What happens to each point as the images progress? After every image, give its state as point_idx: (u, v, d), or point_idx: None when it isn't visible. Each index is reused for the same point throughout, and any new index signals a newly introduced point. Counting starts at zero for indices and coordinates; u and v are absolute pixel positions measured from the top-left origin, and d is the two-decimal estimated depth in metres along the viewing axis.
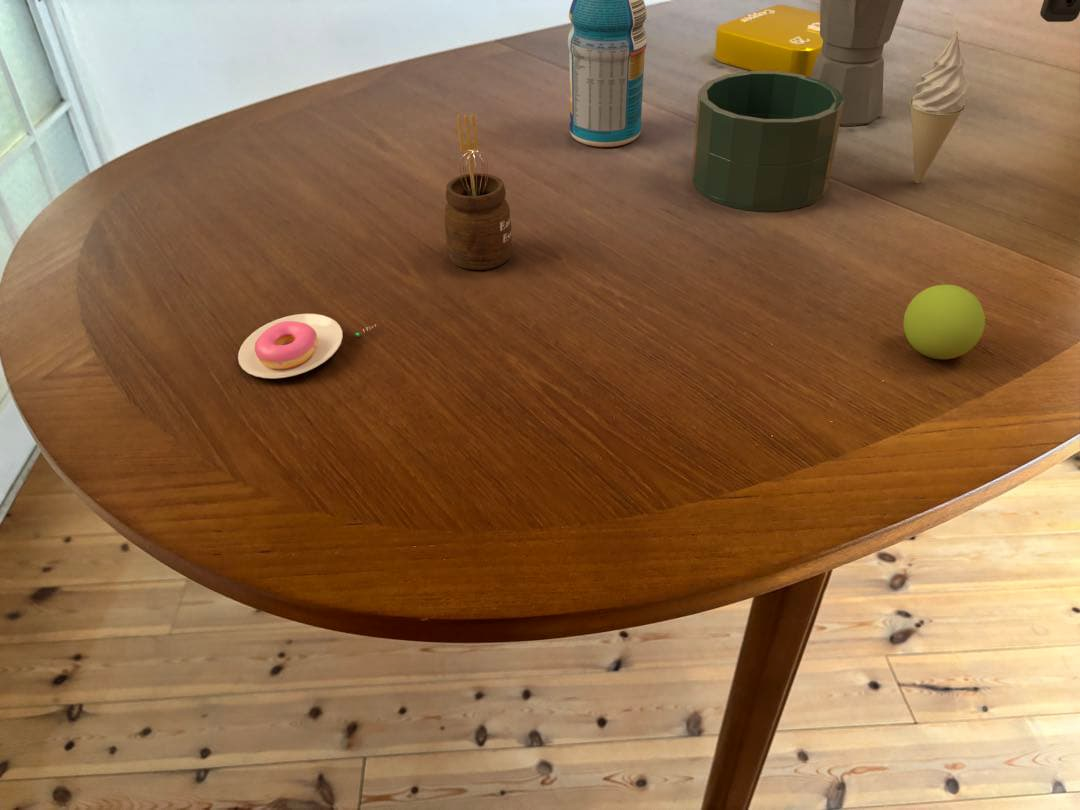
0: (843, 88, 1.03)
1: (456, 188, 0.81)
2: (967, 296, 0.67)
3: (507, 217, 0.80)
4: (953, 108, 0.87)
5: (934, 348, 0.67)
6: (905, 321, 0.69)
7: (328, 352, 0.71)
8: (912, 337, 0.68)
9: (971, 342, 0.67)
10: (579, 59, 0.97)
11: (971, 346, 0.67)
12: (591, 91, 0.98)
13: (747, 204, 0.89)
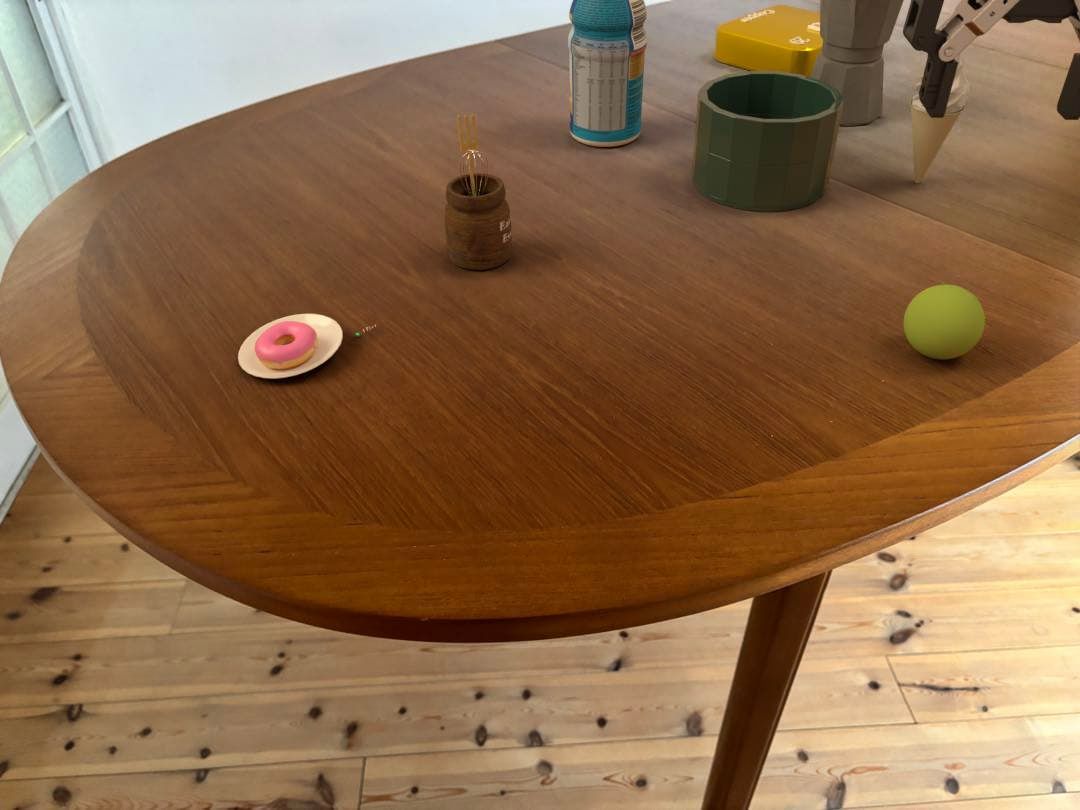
0: (843, 88, 1.03)
1: (456, 188, 0.81)
2: (967, 296, 0.67)
3: (507, 217, 0.80)
4: (953, 108, 0.87)
5: (934, 348, 0.67)
6: (905, 321, 0.69)
7: (328, 352, 0.71)
8: (912, 337, 0.68)
9: (971, 342, 0.67)
10: (579, 59, 0.97)
11: (971, 346, 0.67)
12: (591, 91, 0.98)
13: (747, 204, 0.89)
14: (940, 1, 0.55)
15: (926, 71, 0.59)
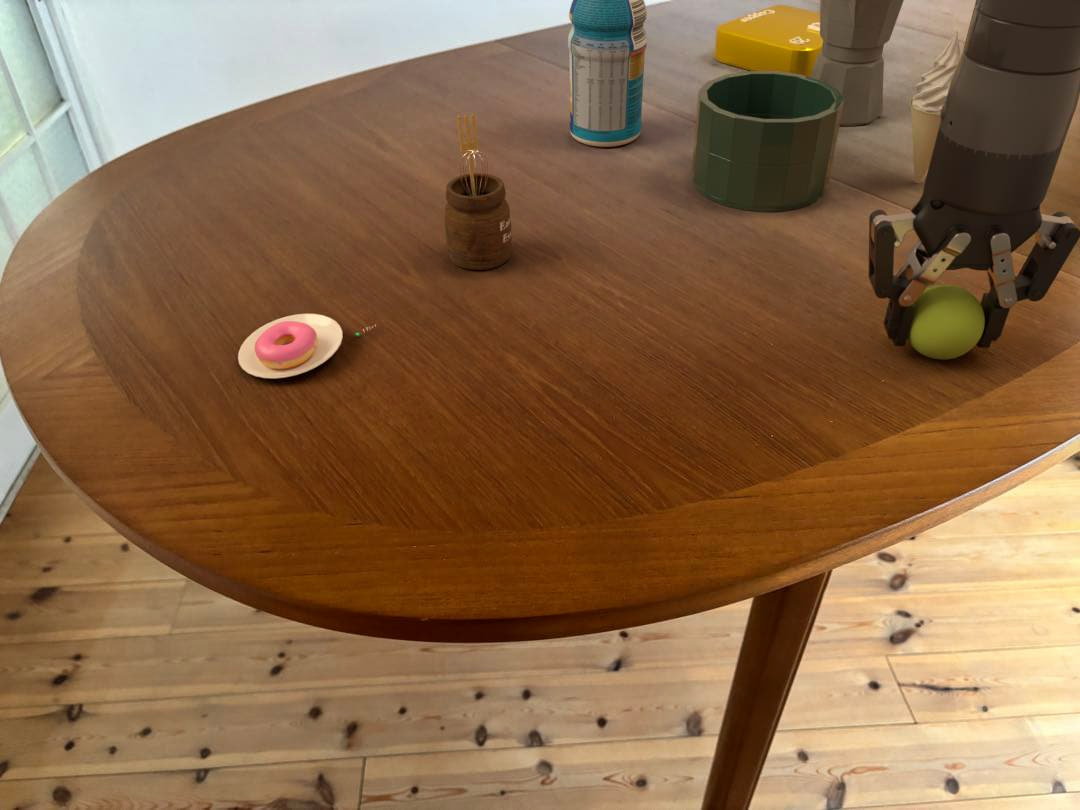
0: (843, 88, 1.03)
1: (456, 188, 0.81)
2: (967, 296, 0.67)
3: (507, 217, 0.80)
4: None
5: (934, 349, 0.67)
6: None
7: (328, 352, 0.71)
8: (912, 337, 0.68)
9: (971, 342, 0.67)
10: (579, 59, 0.97)
11: (971, 346, 0.67)
12: (591, 91, 0.98)
13: (747, 204, 0.89)
14: (890, 262, 0.65)
15: (889, 308, 0.69)
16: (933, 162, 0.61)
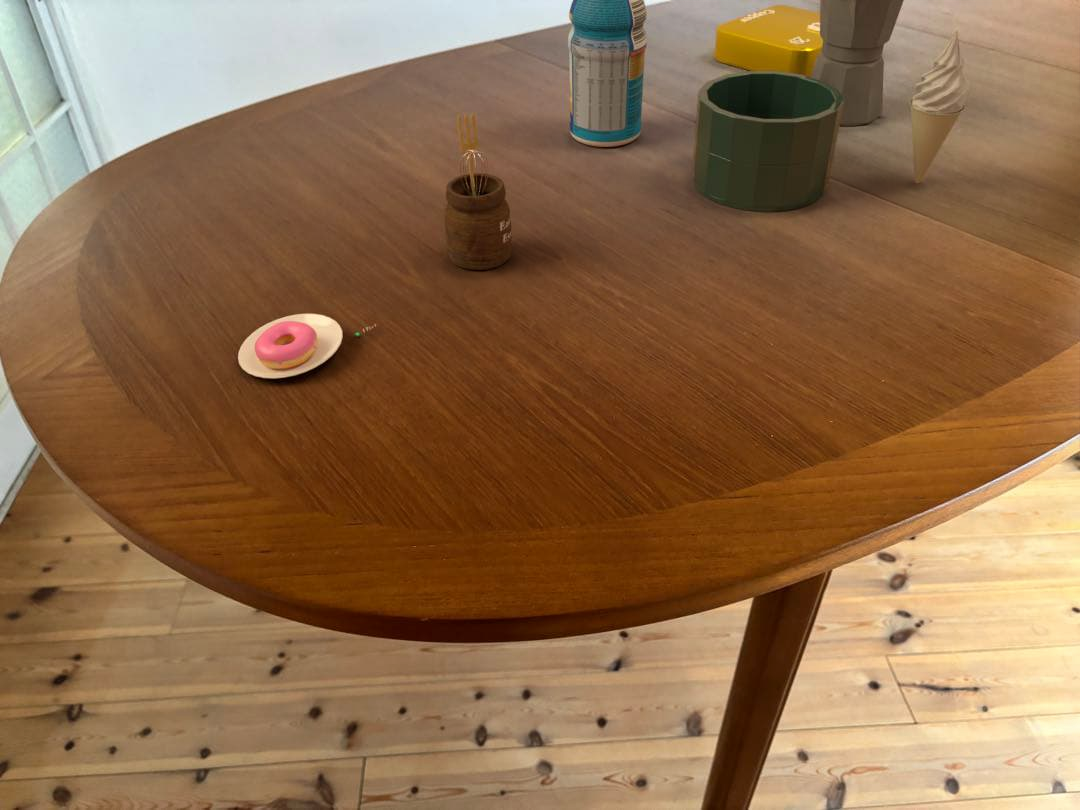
0: (843, 88, 1.03)
1: (456, 188, 0.81)
2: None
3: (507, 217, 0.80)
4: (953, 108, 0.87)
5: None
6: None
7: (328, 352, 0.71)
8: None
9: None
10: (579, 59, 0.97)
11: None
12: (591, 91, 0.98)
13: (747, 204, 0.89)
14: None
15: None
16: None
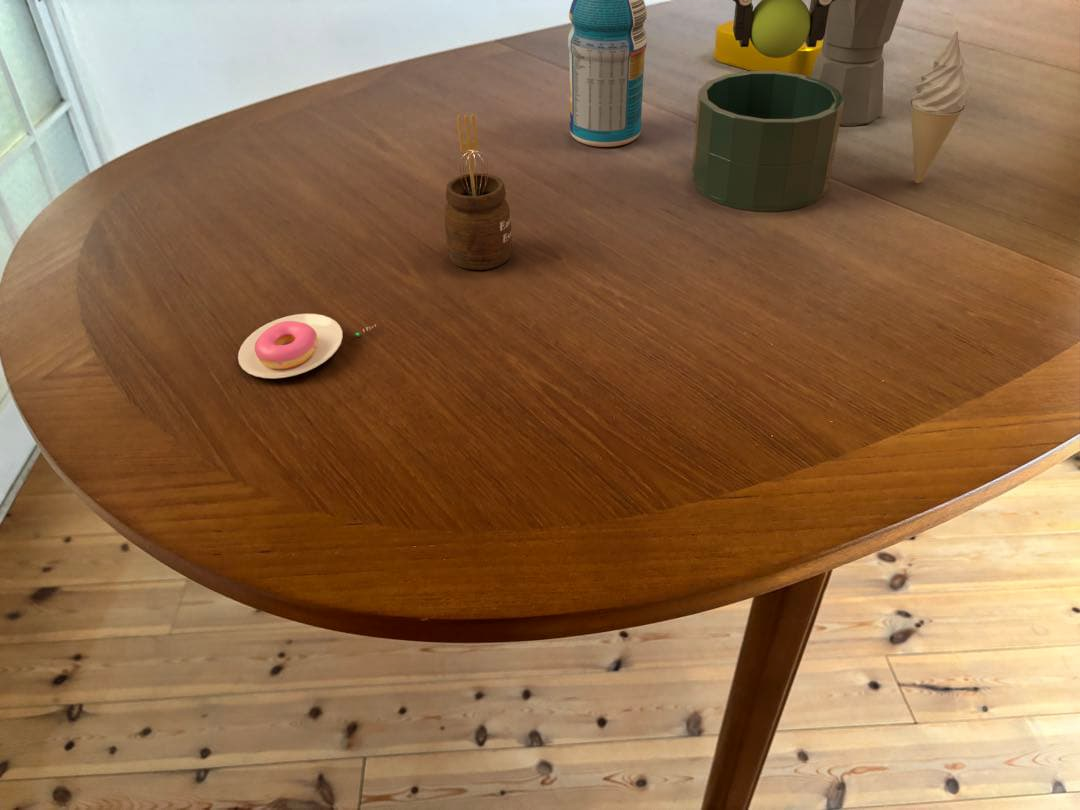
0: (843, 88, 1.03)
1: (456, 188, 0.81)
2: None
3: (507, 217, 0.80)
4: (953, 108, 0.87)
5: (769, 42, 0.83)
6: None
7: (328, 352, 0.71)
8: (753, 36, 0.84)
9: (798, 35, 0.83)
10: (579, 59, 0.97)
11: (799, 40, 0.83)
12: (591, 91, 0.98)
13: (747, 204, 0.89)
14: None
15: (735, 13, 0.85)
16: None
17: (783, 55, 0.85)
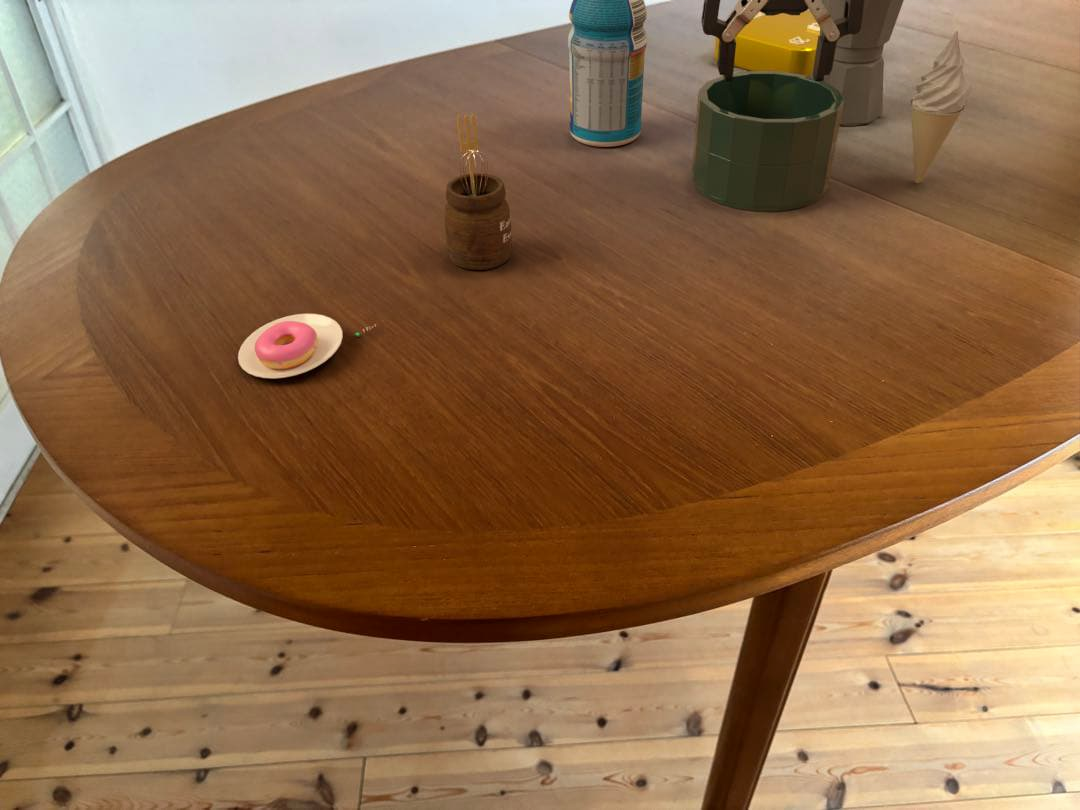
0: (843, 88, 1.03)
1: (456, 188, 0.81)
2: None
3: (507, 217, 0.80)
4: (953, 108, 0.87)
5: None
6: None
7: (328, 352, 0.71)
8: None
9: None
10: (579, 59, 0.97)
11: None
12: (591, 91, 0.98)
13: (747, 204, 0.89)
14: (717, 1, 0.83)
15: (719, 49, 0.87)
16: None
17: None
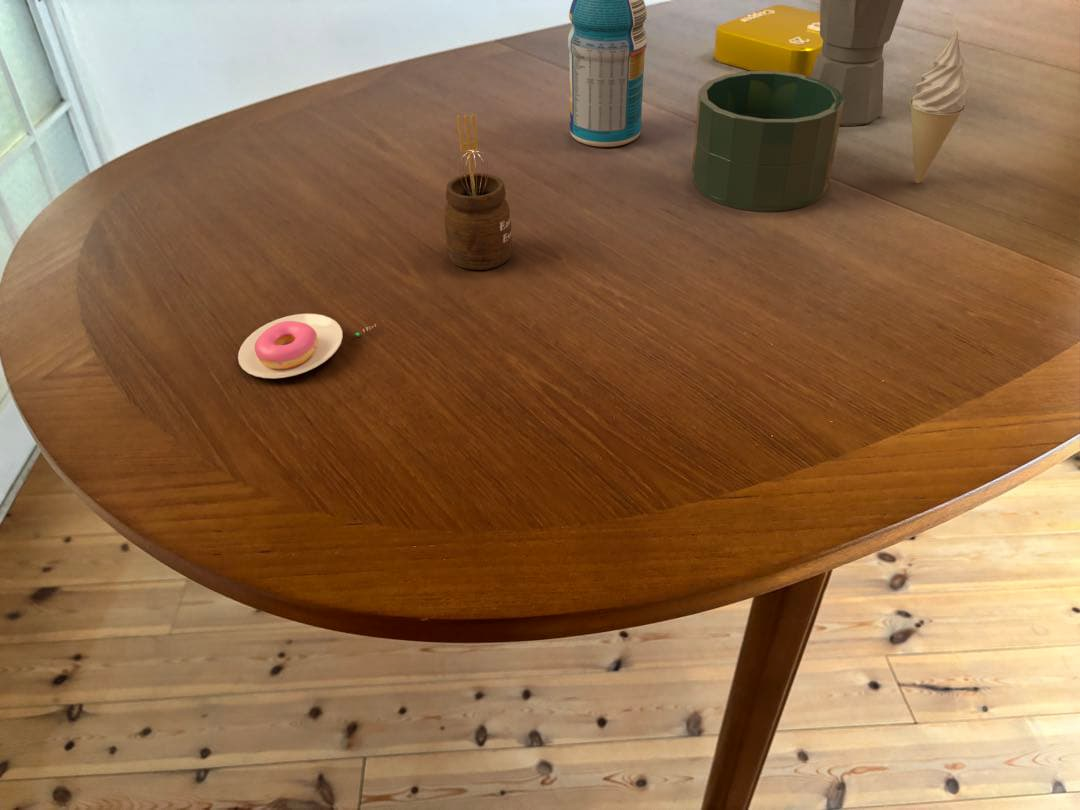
0: (843, 88, 1.03)
1: (456, 188, 0.81)
2: None
3: (507, 217, 0.80)
4: (953, 108, 0.87)
5: None
6: None
7: (328, 352, 0.71)
8: None
9: None
10: (579, 59, 0.97)
11: None
12: (591, 91, 0.98)
13: (747, 204, 0.89)
14: None
15: None
16: None
17: None
